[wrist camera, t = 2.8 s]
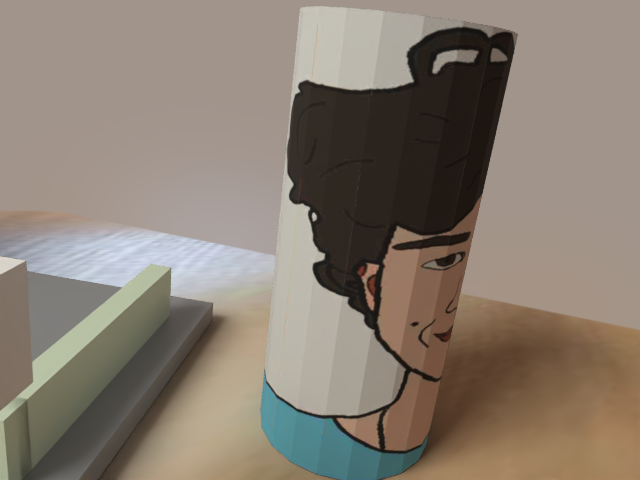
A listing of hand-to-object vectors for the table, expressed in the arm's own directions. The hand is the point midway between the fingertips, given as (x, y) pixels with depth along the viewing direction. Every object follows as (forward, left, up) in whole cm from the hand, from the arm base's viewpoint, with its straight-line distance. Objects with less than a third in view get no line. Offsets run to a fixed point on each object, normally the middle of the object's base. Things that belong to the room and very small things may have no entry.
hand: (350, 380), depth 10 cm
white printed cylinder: (0, -10, -8) cm, 13 cm away
